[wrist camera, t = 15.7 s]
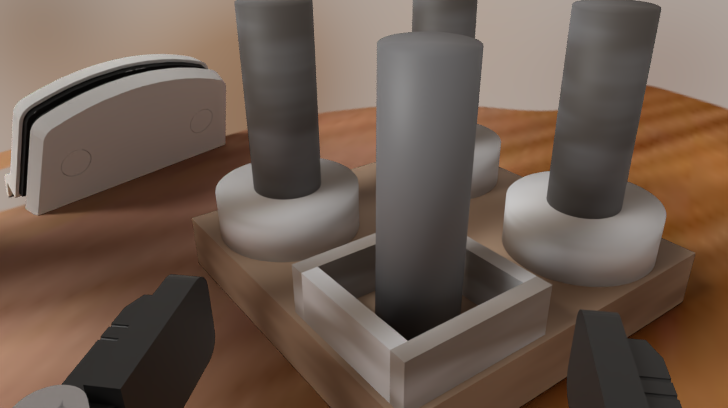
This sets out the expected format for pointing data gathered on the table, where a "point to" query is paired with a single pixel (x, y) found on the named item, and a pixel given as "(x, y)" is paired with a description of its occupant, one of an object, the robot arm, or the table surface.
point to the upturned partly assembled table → (485, 225)
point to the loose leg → (424, 175)
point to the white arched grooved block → (112, 127)
